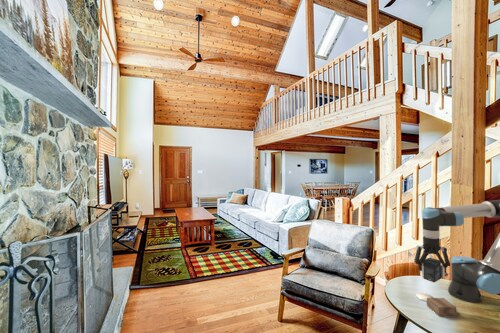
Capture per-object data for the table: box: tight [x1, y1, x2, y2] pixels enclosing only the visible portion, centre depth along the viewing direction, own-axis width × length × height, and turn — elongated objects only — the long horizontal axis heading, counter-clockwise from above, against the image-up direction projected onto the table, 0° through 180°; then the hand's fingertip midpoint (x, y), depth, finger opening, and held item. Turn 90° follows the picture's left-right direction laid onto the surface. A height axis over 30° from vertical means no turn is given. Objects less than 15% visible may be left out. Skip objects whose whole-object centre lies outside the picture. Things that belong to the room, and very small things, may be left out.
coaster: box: [415, 292, 435, 303], centre depth 144 cm, size 9×9×1 cm
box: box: [422, 256, 442, 283], centre depth 134 cm, size 8×6×11 cm
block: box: [426, 297, 458, 318], centre depth 131 cm, size 9×9×5 cm
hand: (432, 277), depth 134 cm, fingers closed on box, 9 cm apart
